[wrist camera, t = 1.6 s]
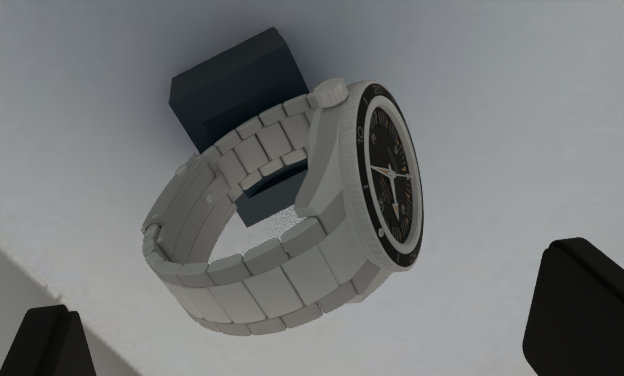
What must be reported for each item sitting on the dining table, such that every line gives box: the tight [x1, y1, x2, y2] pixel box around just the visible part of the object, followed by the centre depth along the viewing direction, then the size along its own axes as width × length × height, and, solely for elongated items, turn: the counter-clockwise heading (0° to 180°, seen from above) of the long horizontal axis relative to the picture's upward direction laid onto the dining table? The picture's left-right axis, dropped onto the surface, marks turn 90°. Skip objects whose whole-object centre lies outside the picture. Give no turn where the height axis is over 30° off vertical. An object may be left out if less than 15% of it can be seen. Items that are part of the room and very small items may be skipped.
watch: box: [141, 27, 424, 336], centre depth 16 cm, size 6×8×11 cm
